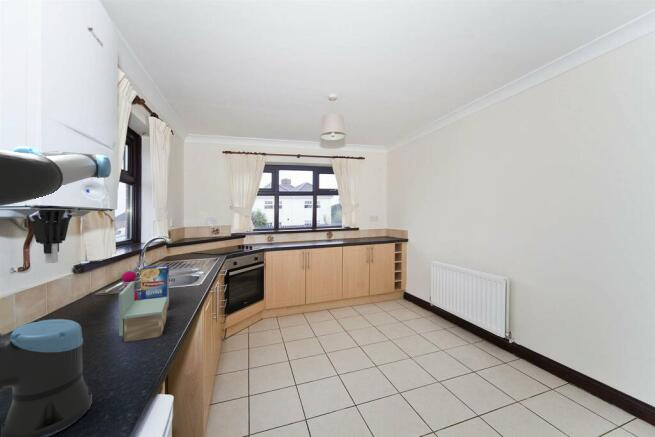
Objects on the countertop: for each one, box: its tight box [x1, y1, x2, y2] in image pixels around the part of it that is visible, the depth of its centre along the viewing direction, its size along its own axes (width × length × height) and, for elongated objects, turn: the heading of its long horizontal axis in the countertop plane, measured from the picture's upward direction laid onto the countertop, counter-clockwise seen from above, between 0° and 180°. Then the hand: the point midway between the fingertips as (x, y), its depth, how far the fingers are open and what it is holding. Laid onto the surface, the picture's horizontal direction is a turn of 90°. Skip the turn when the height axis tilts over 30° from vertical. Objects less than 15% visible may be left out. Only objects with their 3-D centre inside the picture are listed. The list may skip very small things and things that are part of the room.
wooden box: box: [123, 303, 167, 343], centre depth 110 cm, size 18×12×9 cm, turn 26°
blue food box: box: [140, 264, 170, 312], centre depth 131 cm, size 7×11×22 cm, turn 115°
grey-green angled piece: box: [118, 281, 167, 337], centre depth 110 cm, size 19×14×16 cm
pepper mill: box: [121, 268, 139, 301], centre depth 134 cm, size 7×7×20 cm
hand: (51, 262), depth 90 cm, fingers closed
